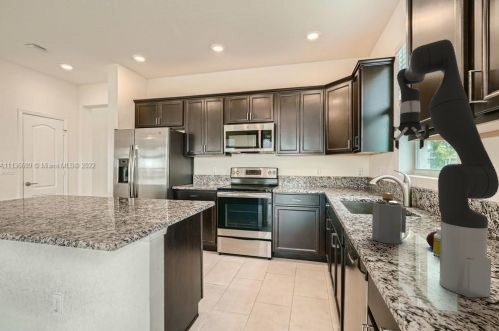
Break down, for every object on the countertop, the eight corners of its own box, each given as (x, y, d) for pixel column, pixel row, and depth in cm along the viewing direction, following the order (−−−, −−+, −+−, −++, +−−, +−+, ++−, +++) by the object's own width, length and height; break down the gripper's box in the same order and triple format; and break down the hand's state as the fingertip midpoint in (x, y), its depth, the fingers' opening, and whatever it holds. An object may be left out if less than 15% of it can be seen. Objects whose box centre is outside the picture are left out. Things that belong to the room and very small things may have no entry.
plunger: (402, 238, 100) (403, 194, 100) (383, 238, 99) (385, 194, 99) (389, 232, 108) (390, 192, 108) (371, 232, 108) (372, 192, 108)
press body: (414, 244, 99) (415, 205, 99) (382, 244, 98) (383, 205, 98) (395, 235, 110) (396, 201, 110) (366, 236, 109) (367, 201, 109)
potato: (455, 250, 93) (455, 232, 93) (443, 253, 89) (444, 235, 89) (433, 244, 99) (433, 227, 99) (422, 247, 96) (422, 229, 96)
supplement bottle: (432, 255, 87) (433, 228, 87) (434, 251, 91) (434, 226, 91) (451, 259, 83) (452, 232, 83) (452, 255, 87) (453, 229, 87)
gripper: (428, 113, 106) (427, 149, 106) (391, 115, 113) (390, 149, 113) (431, 109, 100) (430, 148, 100) (391, 112, 107) (390, 148, 107)
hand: (408, 149), depth 107 cm, fingers open, 8 cm apart
